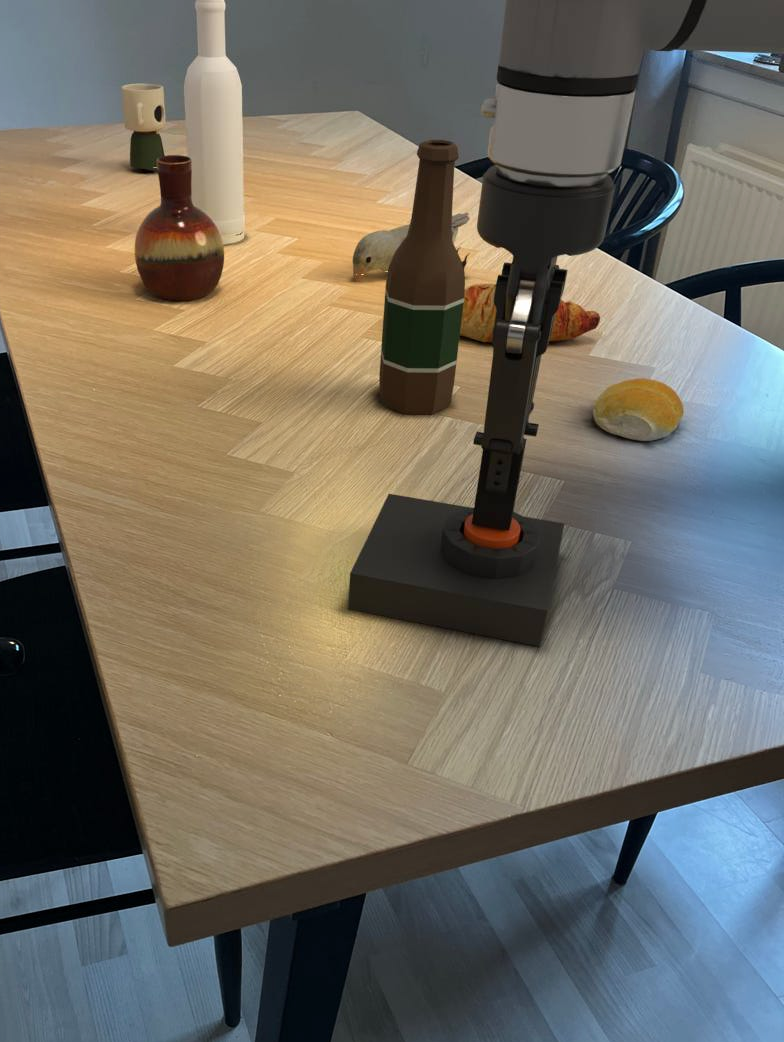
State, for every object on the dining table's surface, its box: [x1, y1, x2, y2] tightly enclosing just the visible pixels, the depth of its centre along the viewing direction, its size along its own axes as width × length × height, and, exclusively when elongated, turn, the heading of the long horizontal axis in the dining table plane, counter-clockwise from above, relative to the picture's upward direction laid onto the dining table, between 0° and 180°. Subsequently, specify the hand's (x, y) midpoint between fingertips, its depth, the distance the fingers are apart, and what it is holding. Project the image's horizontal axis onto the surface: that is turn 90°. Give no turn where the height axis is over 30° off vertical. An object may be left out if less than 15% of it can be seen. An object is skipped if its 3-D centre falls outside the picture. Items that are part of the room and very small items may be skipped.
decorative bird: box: [352, 212, 471, 282], centre depth 128 cm, size 5×16×8 cm, turn 108°
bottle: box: [183, 0, 246, 246], centre depth 133 cm, size 8×8×30 cm
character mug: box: [121, 83, 166, 173], centre depth 169 cm, size 11×7×13 cm, turn 177°
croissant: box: [460, 283, 601, 344], centre depth 113 cm, size 21×10×8 cm, turn 79°
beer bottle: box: [378, 139, 466, 415], centre depth 93 cm, size 8×8×24 cm
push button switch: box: [347, 493, 565, 647], centre depth 73 cm, size 14×12×5 cm
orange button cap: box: [463, 514, 520, 549], centre depth 71 cm, size 4×4×2 cm
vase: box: [134, 154, 225, 302], centre depth 120 cm, size 11×11×15 cm
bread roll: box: [592, 377, 685, 442], centre depth 96 cm, size 8×9×4 cm
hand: (491, 522), depth 71 cm, fingers closed
